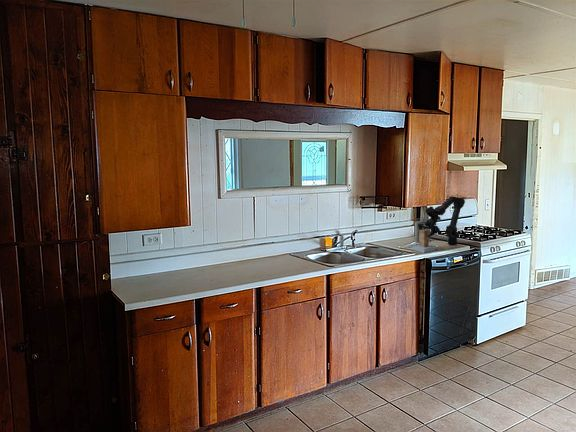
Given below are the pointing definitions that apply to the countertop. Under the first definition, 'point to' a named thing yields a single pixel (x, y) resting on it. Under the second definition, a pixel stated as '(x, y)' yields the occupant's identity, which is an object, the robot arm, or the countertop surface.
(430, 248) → the plinth
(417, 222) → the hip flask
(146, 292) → the countertop surface
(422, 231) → the walnut block
